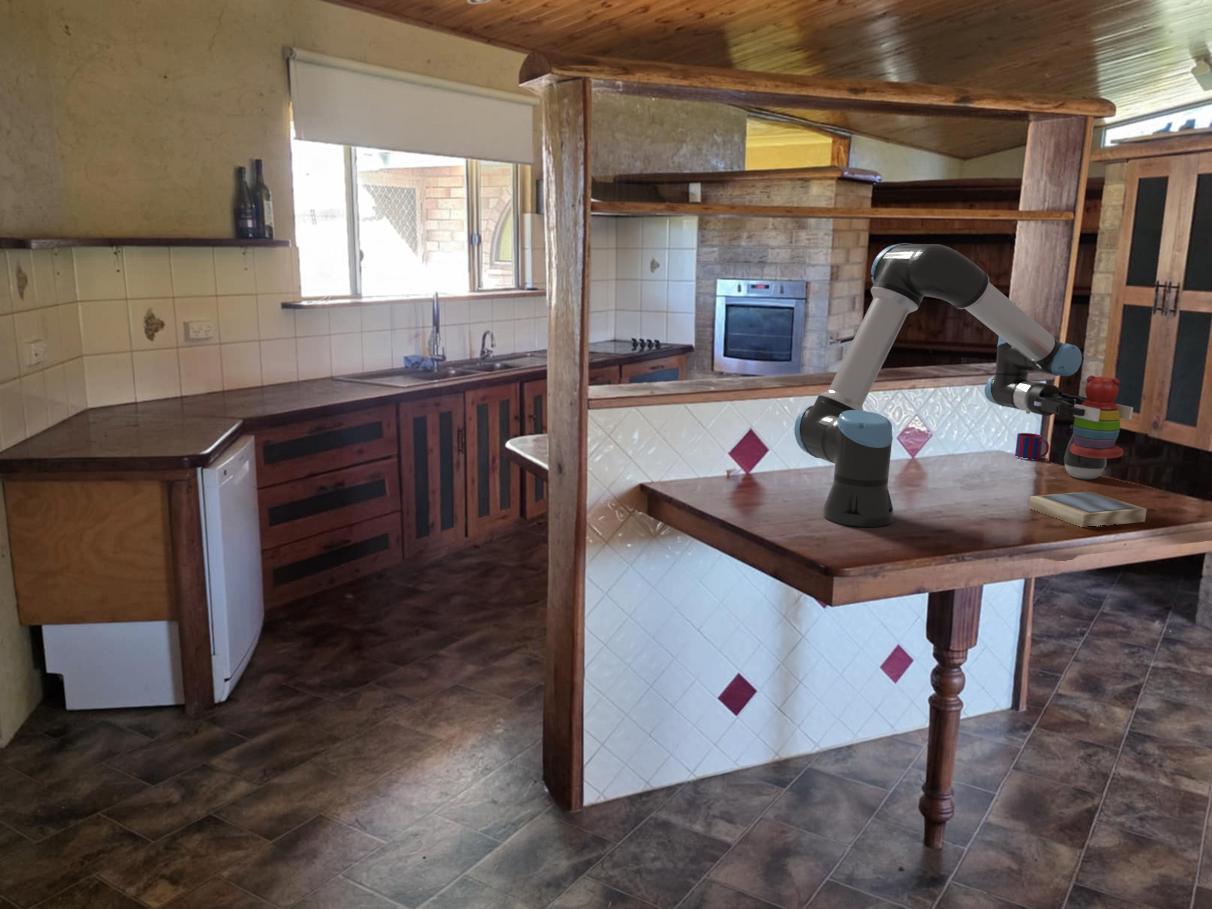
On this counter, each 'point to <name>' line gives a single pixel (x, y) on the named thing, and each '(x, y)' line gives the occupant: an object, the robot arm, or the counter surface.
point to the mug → (1030, 446)
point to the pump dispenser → (1082, 464)
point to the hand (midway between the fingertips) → (1114, 414)
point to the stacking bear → (1101, 434)
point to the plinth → (1087, 509)
